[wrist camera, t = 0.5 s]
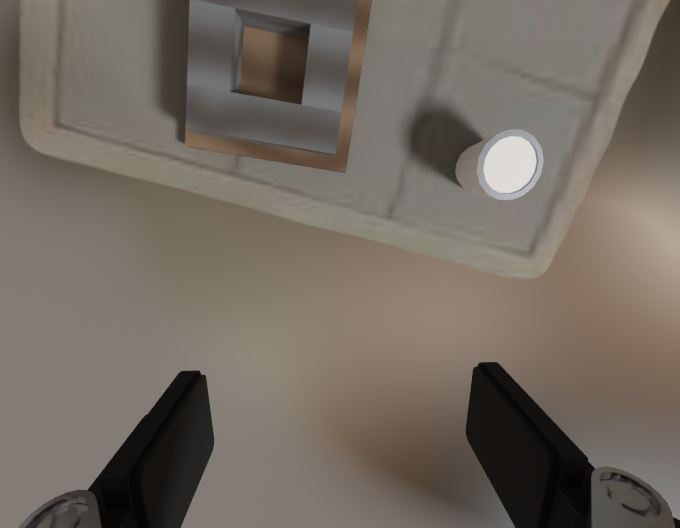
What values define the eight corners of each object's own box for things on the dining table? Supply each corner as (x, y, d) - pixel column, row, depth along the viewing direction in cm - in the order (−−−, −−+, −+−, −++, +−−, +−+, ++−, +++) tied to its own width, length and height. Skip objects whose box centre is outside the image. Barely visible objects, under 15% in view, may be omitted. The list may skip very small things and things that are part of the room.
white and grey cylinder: (442, 189, 39) (467, 191, 32) (461, 131, 37) (491, 120, 30) (493, 203, 39) (528, 207, 32) (513, 147, 38) (555, 139, 31)
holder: (197, -40, 32) (173, -80, 27) (371, -3, 33) (379, -34, 28) (190, 147, 36) (169, 142, 31) (344, 172, 37) (347, 171, 33)
